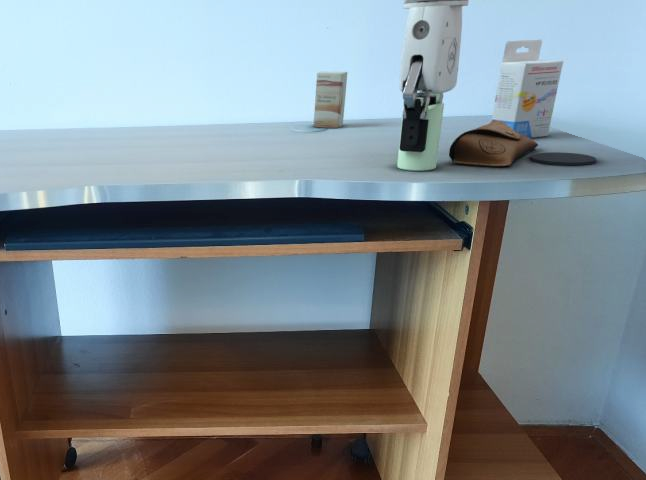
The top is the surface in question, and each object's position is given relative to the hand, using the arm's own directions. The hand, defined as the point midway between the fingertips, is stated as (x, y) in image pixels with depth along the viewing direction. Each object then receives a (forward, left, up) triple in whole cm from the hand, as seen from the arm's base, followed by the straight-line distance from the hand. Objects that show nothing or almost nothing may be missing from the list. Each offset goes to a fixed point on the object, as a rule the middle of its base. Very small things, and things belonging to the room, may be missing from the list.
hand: (418, 146), depth 86 cm
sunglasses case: (-7, -13, -3) cm, 15 cm away
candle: (0, 0, -3) cm, 3 cm away
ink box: (-7, -33, -3) cm, 34 cm away
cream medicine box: (+28, -35, -3) cm, 45 cm away
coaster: (-16, -13, -3) cm, 21 cm away
